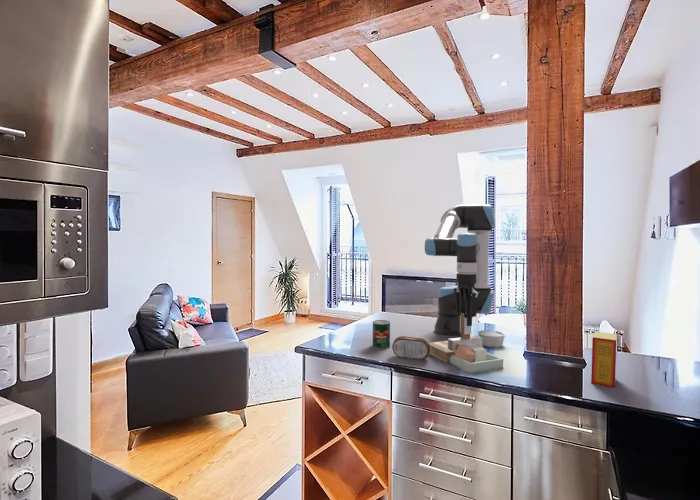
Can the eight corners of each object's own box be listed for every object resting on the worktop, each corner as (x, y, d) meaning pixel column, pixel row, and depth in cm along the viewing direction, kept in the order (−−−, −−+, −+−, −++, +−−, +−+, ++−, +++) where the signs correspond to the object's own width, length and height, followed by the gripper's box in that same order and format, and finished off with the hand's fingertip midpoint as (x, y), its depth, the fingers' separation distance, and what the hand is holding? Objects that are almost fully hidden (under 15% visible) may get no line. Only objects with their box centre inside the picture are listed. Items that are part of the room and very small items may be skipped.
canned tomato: (377, 349, 168) (377, 324, 167) (369, 344, 175) (369, 320, 174) (393, 347, 170) (393, 323, 170) (385, 343, 178) (385, 319, 177)
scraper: (477, 345, 156) (477, 310, 155) (482, 347, 153) (482, 312, 153) (447, 349, 151) (448, 313, 150) (452, 351, 148) (452, 314, 148)
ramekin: (509, 347, 172) (510, 335, 172) (488, 349, 169) (488, 337, 169) (493, 340, 183) (493, 329, 183) (473, 342, 180) (473, 331, 179)
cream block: (479, 346, 153) (486, 349, 149) (479, 358, 153) (485, 361, 149) (468, 347, 151) (475, 350, 147) (468, 360, 151) (475, 363, 148)
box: (481, 358, 155) (481, 350, 155) (503, 368, 144) (503, 359, 144) (450, 363, 150) (450, 354, 150) (470, 373, 139) (470, 364, 139)
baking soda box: (593, 375, 138) (594, 330, 137) (615, 379, 134) (616, 333, 133) (591, 383, 130) (592, 336, 129) (614, 388, 126) (616, 339, 126)
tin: (430, 359, 155) (430, 338, 155) (429, 361, 152) (429, 340, 152) (393, 355, 160) (393, 335, 160) (391, 357, 157) (391, 336, 157)
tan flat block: (458, 348, 169) (458, 339, 169) (479, 358, 156) (479, 348, 156) (426, 352, 164) (426, 343, 164) (446, 362, 151) (446, 352, 150)
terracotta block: (463, 354, 152) (468, 346, 150) (471, 363, 147) (476, 355, 146) (454, 353, 149) (459, 345, 148) (461, 362, 145) (466, 353, 144)
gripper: (446, 271, 157) (446, 329, 158) (471, 275, 143) (469, 338, 144) (462, 271, 159) (461, 327, 160) (487, 274, 145) (486, 336, 146)
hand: (465, 332), depth 152 cm, fingers closed on scraper, 2 cm apart
